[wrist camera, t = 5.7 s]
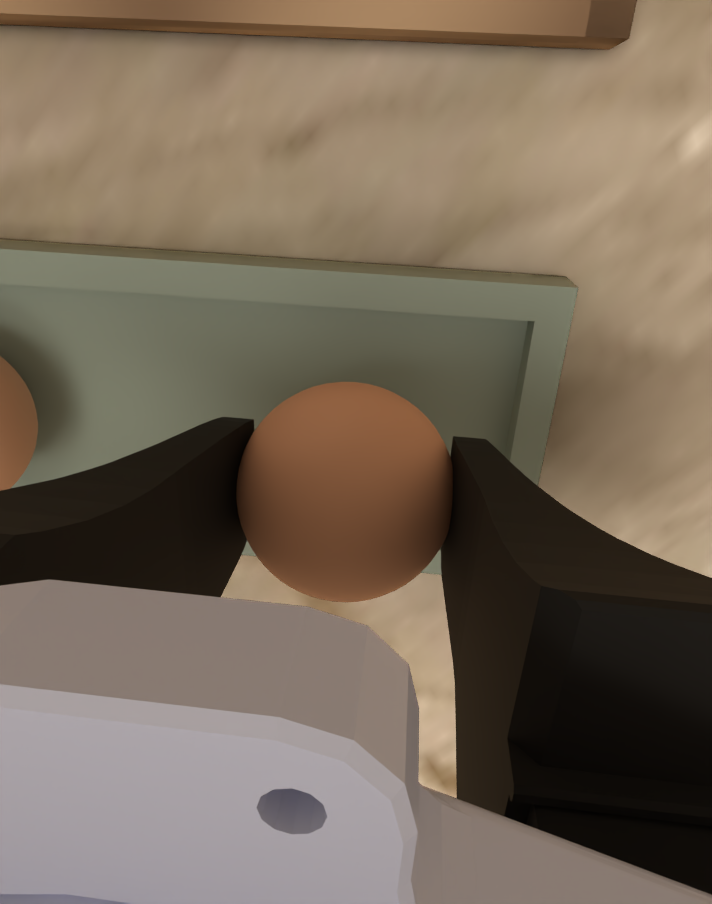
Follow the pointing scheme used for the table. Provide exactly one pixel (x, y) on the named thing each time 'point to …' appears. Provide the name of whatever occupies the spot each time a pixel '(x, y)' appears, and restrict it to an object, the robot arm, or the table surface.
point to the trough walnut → (351, 19)
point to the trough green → (269, 345)
